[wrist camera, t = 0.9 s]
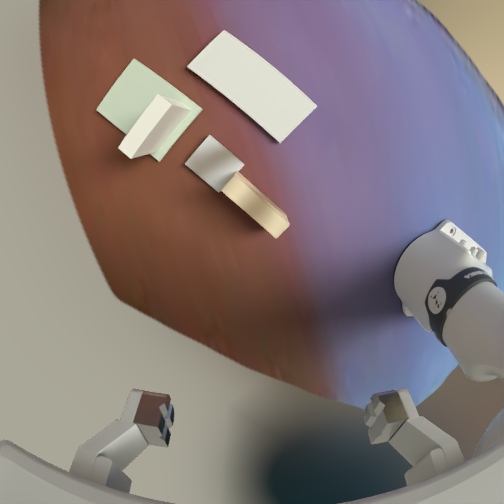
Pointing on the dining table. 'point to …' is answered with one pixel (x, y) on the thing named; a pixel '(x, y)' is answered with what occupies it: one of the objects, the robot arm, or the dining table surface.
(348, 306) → the dining table surface
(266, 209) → the turner
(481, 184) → the dining table surface
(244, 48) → the pad
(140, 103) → the mat
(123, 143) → the tile
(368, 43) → the dining table surface
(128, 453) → the robot arm
